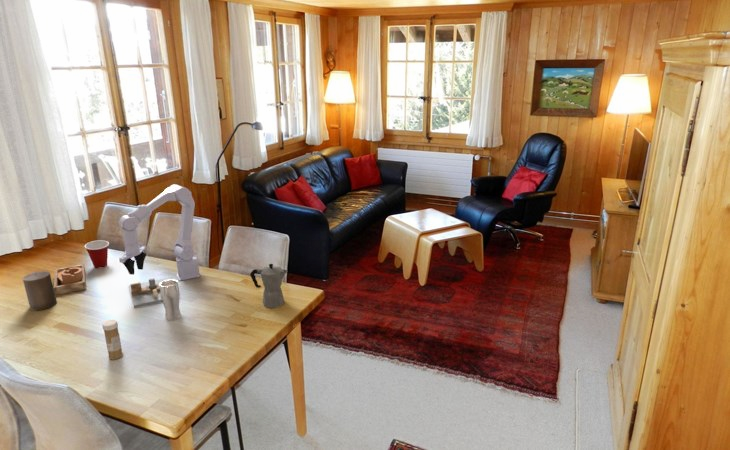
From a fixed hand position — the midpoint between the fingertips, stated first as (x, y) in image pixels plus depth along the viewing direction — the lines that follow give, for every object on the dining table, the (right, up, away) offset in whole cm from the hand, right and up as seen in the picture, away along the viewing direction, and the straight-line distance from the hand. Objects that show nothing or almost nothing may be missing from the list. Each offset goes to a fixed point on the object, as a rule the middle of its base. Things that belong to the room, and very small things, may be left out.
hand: (136, 271), depth 215 cm
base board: (+7, -9, +1) cm, 12 cm away
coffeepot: (+61, -13, -8) cm, 63 cm away
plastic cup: (-32, 0, +29) cm, 43 cm away
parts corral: (-36, -6, +12) cm, 38 cm away
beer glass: (+24, -17, -19) cm, 35 cm away
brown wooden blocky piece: (+5, -8, -1) cm, 10 cm away
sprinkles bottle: (+14, -25, -45) cm, 54 cm away
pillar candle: (-35, -13, -9) cm, 38 cm away
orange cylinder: (-36, -6, +12) cm, 38 cm away
